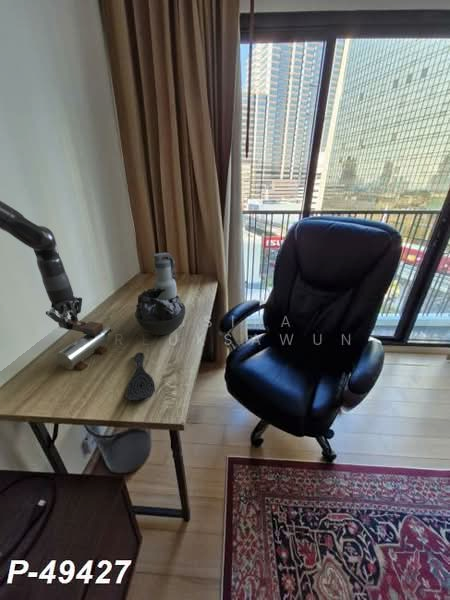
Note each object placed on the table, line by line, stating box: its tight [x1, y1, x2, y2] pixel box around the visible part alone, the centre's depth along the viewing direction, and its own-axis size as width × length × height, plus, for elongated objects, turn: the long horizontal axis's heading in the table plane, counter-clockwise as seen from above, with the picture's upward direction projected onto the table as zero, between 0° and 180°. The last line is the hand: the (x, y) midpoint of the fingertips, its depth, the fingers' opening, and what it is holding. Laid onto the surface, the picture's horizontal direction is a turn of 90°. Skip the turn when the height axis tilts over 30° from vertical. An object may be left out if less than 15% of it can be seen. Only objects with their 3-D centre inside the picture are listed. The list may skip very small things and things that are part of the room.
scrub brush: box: [57, 318, 104, 336], centre depth 93 cm, size 19×4×3 cm, turn 69°
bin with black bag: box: [134, 287, 186, 336], centre depth 102 cm, size 20×20×19 cm
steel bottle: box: [56, 326, 113, 371], centre depth 92 cm, size 20×8×8 cm, turn 159°
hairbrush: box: [126, 351, 156, 403], centre depth 81 cm, size 8×4×25 cm
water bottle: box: [153, 252, 178, 300], centre depth 117 cm, size 10×10×28 cm
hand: (72, 327), depth 95 cm, fingers closed on scrub brush, 2 cm apart
